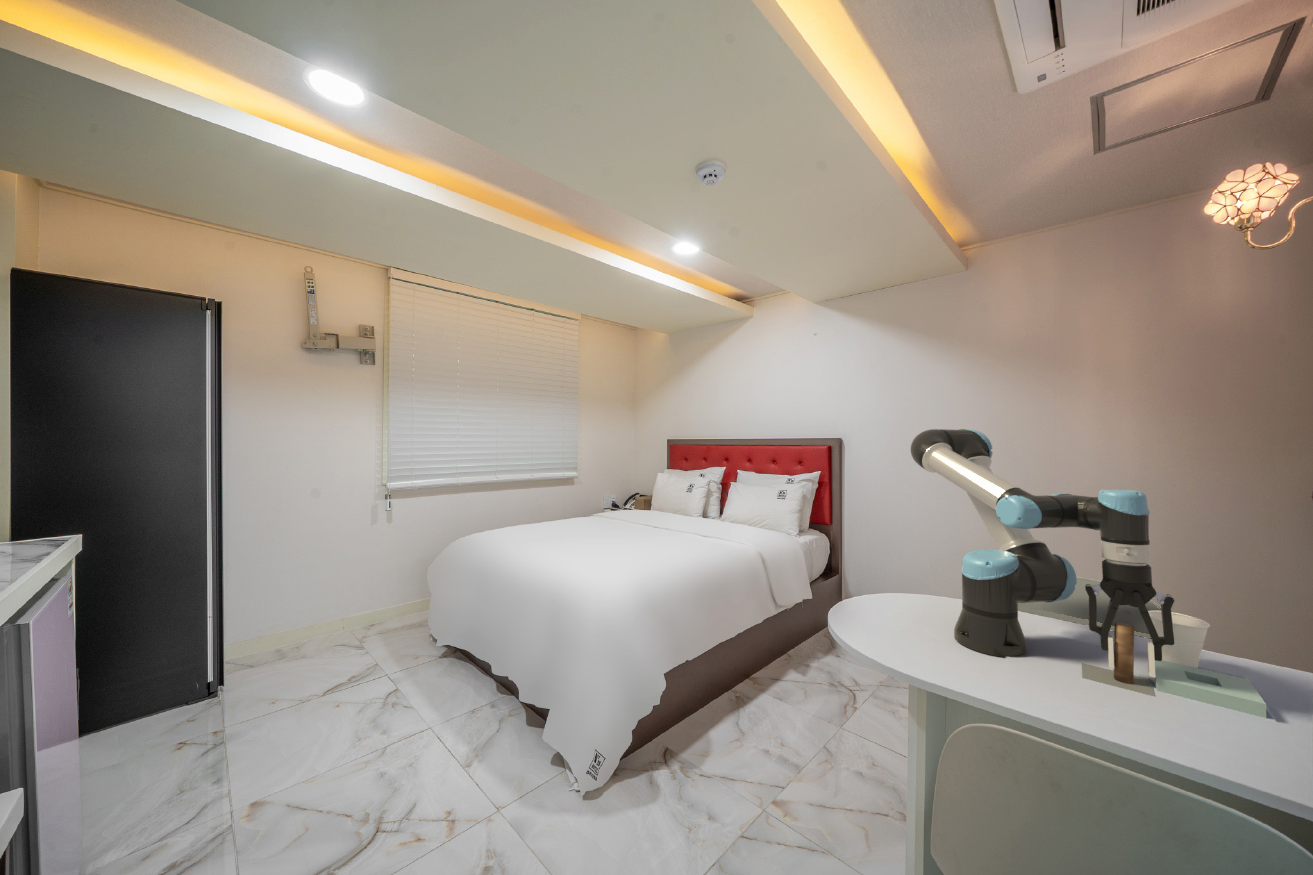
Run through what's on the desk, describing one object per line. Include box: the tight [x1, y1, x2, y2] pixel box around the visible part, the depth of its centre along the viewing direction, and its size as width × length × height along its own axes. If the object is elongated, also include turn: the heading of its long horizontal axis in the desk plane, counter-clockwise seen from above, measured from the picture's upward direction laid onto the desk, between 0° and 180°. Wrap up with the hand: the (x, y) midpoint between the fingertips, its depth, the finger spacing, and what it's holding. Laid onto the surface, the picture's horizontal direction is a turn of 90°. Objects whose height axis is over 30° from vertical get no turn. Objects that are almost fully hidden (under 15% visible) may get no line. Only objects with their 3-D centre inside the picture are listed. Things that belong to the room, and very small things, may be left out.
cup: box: [1147, 610, 1211, 668], centre depth 108 cm, size 10×10×11 cm
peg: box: [1113, 622, 1135, 684], centre depth 100 cm, size 3×3×12 cm
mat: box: [1081, 662, 1156, 698], centre depth 101 cm, size 11×9×1 cm
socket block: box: [1152, 660, 1267, 719], centre depth 96 cm, size 14×12×3 cm
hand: (1131, 670), depth 99 cm, fingers open, 5 cm apart
